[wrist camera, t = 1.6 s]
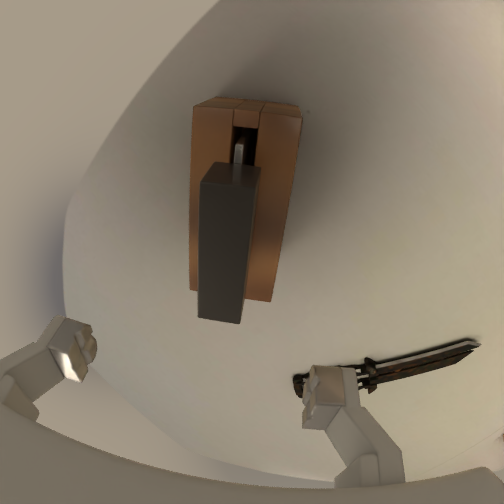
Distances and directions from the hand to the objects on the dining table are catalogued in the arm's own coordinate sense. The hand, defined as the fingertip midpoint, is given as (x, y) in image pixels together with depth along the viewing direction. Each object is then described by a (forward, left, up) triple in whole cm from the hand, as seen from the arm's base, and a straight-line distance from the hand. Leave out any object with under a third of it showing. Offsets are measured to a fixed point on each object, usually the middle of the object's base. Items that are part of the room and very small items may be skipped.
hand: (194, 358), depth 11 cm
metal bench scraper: (0, 0, -16) cm, 16 cm away
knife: (+20, +20, -17) cm, 33 cm away
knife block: (0, 0, -17) cm, 17 cm away
